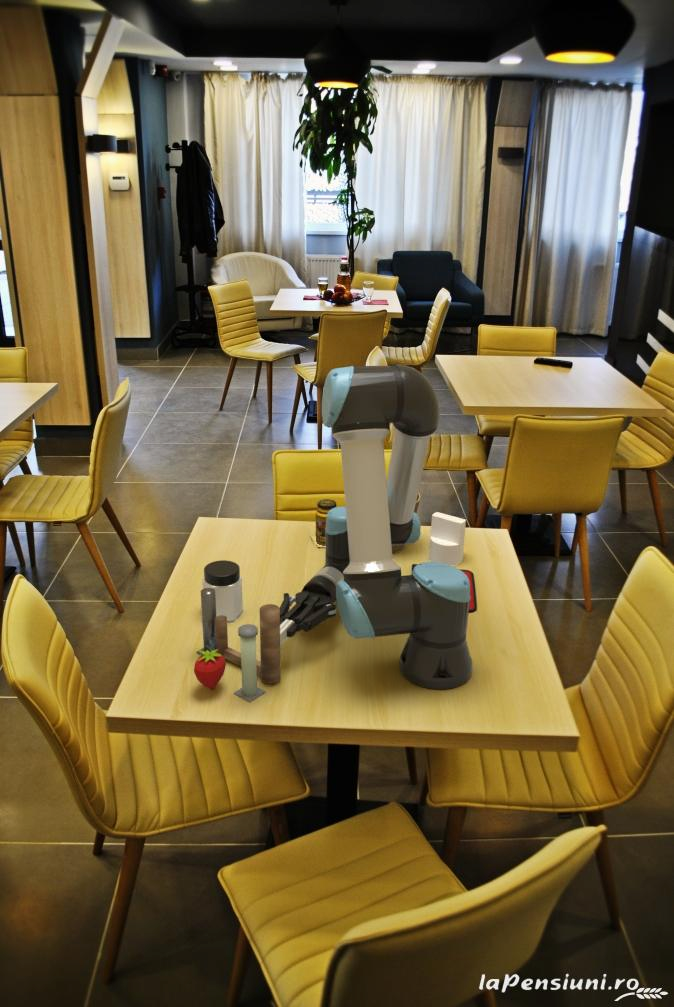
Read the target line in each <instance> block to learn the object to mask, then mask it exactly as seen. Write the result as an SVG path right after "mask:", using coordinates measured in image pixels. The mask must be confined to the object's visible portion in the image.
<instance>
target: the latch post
mask: <svg viewBox="0 0 674 1007" xmlns="http://www.w3.org/2000/svg"><path fill="white" fill-rule="evenodd" d="M258 631H259V630H258V627H257V625H255V624H252V623H251V624H249V623H247V624H242V625H241V626H239V627H238V629H237V635H238V636H239V637H240V638H239V640H240V653H241V666H240V668H241V670H240V671H241V687H240V688H239V689H237V690H236V691H234V692H233V694H234V695H236V696H238V697H239V698H241V699H242V700H245V701H247V703H251V702H253V701H255V700H256V699H257V698H259V697H261V696H262V695H265V693H266V690H264V689H262V688H260V687H259V686H258V674H257V661H256V660H257V636H258V633H259V632H258Z"/></svg>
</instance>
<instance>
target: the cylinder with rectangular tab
mask: <svg viewBox="0 0 674 1007" xmlns="http://www.w3.org/2000/svg"><path fill="white" fill-rule="evenodd" d="M466 524H467V519H465V518H461V517H458V516H453V515H450V514H446V513H442V512H439V511H435V512H434V513H433V514H432V515H431V527H430V536H429V537H430V538H429V552H428V559H430V560H431V561H430V560H429V561H430V562H440V563H445V564H448V565H456V564H459V563H460V564H462V563H463V561H464V560H463V559H464V548H465V535H466ZM461 562H462V563H461ZM460 564H459V565H460ZM456 566H457V565H456Z"/></svg>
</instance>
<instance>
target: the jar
mask: <svg viewBox="0 0 674 1007" xmlns="http://www.w3.org/2000/svg"><path fill="white" fill-rule="evenodd" d="M240 571H241V570H240V566H239V564H238V563H236V562H234V561H232V560H225V559H224V560H223V559H222V560H215V561H211V562H209V563H207V564H206V565H205V566H204V568H203V577H204V578H202V589H204V588H213V589H214V590H215V598H216V617H217V616H219V615H224V616H226V617H227V623H228V622H229V623H230V622H235V621H236V620H237V618H239V616H241V615H242V613H243V611H244V607H243V578H242V576H241V572H240Z"/></svg>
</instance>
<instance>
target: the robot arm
mask: <svg viewBox="0 0 674 1007" xmlns="http://www.w3.org/2000/svg"><path fill="white" fill-rule="evenodd" d="M322 390H323V391H322V397H321V418H322V424H323V426H324V427H327V428H331V433H332V435H331V436H332V438H334V439H335V440H336V442H337V441H338V443H339V444H340V451H341V452H340V453H341V468H342V478H343V479H342V480H343V489H344V490H343V491H344V492H343V493H344V503H345V505H344V506H338V507H337V506H336V507H335V508H333V509H331V510H330V511H329V512H328V513H327V518H326V528H325V531H326V547H325V555H324V556H325V560H324V561H325V563H324V565H323V567H322V568H321V569H320V570H318V572H316V573H315V574H314V575H313V576H312V578H310V579H309V580H308V582H306V583H305V585H304V586H303V587H302V589H301V591H299V592H297V593H296V594H295V595H290V594H289V593H288V592H285V593H283V601H282V602H281V604H280V606H279V608H280V647H281V646H282V645H283V644H284V643H285V642H286V641H287V639H288V638H293V637H294V636H295V635H296V634H297V633H298V632H300V631H302V632H304V633H309V632H310V631H312V630H313V629H315V628H316V627H318V626H319V625H321V624H322V623H324V622H326V621H327V620H328V619H331V618H334V617H336V616H337V609H338V613H339V616H340V620H341V622H342V625H343V628H344V629H345V631H346V633H347V634H348V635H349V636H350V637H351V638H354V639H375V638H378V637H379V638H380V637H388V636H389V637H390V636H397V635H407V634H409V635H408V637H407V640H406V642H405V643H404V645H403V648H402V650H401V652H400V657H399V670H400V673H401V674H402V676H403V678H405V679H406V680H407V681H409V682H410V683H412V684H414V685H416V686H419V687H422V688H426V689H431V690H448V689H450V690H451V689H454V688H457V687H461V686H462V685H464V684H466V682H467V683H468V681H469V680H470V679H471V676H472V670H473V659H472V657H471V654H470V649H469V645H468V641H467V634H468V633H467V632H468V631H467V630H468V621H469V620H468V619H469V613H468V612H469V602H470V599H471V596H470V581H469V579H468V577H467V576H466V574H465V573H464V572H462V571H461V570H459V569H460V568H458V567H456V566H451V565H448V564H445V563H440V562H431V561H423V562H420V563H417V564H418V565H416V566H415V567H414V569H413V571H412V570H411V574H407V575H406V574H405V575H402V568H401V566H400V565H399V564H398V563H397V562H396V561H395V560H394V559H393V553H392V546H393V545H404V544H405V545H408V544H409V545H410V544H414V543H415V544H416V543H417V542H418V541H419V539H420V537H421V526H422V525H421V521H420V520H421V519H420V518H419V515H418V513H417V514H416V513H415V512H414V509H415V504H416V500H417V495H418V492H419V489H420V486H421V480H422V476H423V470H424V467H425V463H426V462H425V461H426V457H427V452H428V448H429V443H430V438H431V436H432V435H434V434H435V433H436V432H437V430H438V429H437V428H438V425H439V420H440V403H439V399H438V396H437V393H436V391H435V390H436V389H434V386H433V385H432V383H431V382H430V380H428V378H427V377H426V376H425V375H424V374H423V373H422V372H421V371H419V370H417V369H416V368H414V367H412V366H408V365H404V364H393V365H356V366H355V365H354V366H353V365H350V366H345V367H338V368H337V367H336V368H333V369H331V370H330V371H329V372H328V373H327V375H326V378H325V381H324V385H323V389H322ZM391 424H392V427H393V428H394V436H393V441H392V447H391V454H390V458H389V464H388V468H387V469H388V470H386V461H385V460H386V458H385V449H384V448H385V447H384V446H385V445H384V440H385V439H386V437H387V436H388V435H389V434H390V432H391V427H390V425H391ZM386 471H387V474H386ZM405 545H404V546H405ZM294 603H295V604H294ZM335 603H337V605H336V604H335ZM293 604H294V605H293ZM292 605H293V606H292ZM290 607H291V608H290Z"/></svg>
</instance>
